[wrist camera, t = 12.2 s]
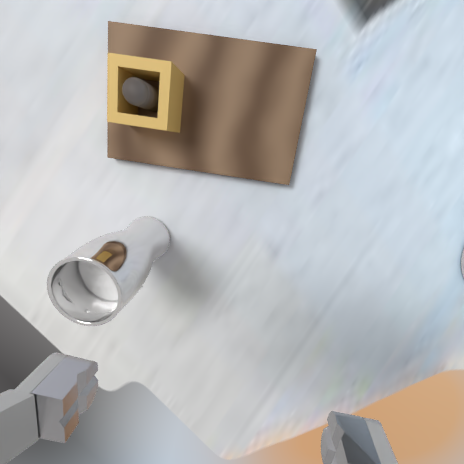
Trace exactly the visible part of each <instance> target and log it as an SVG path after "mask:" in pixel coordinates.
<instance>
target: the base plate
mask: <svg viewBox="0 0 464 464" xmlns="http://www.w3.org/2000/svg"><path fill="white" fill-rule="evenodd" d="M316 50H317V49H310V48H302V47H295V46H287V45H280V44H273V43H265V42H258V41H251V40H243V39H236V38H229V37H221V36H214V35H206V34H199V33H192V32H184V31H177V30H170V29H162V28H155V27H148V26H140V25H133V24H125V23H118V22H111V21H108V53H115V54H122V55H129V56H136V57H143V58H150V59H158V60H165V61H172V63H173V64H174V65H175V66H176V67H177V68H178V69H179V70H180V71H181V72H182V73H183V74H184V75H185V76H184V89H183V101H182V114H181V126H180V133H177V132H170V131H164V130H157V129H150V128H144V127H137V126H130V125H124V124H118V123H112V122H108V158H115V159H121V160H128V161H135V162H141V163H148V164H154V165H161V166H167V167H174V168H180V169H187V170H194V171H200V172H207V173H213V174H220V175H226V176H233V177H240V178H246V179H253V180H259V181H266V182H272V183H279V184H286V185H289V183H290V178H291V173H292V168H293V163H294V159H295V154H296V149H297V144H298V139H299V134H300V129H301V124H302V119H303V114H304V109H305V104H306V99H307V95H308V90H309V85H310V80H311V75H312V70H313V65H314V60H315V55H316ZM122 93H123V96H124V98H125V99H126V100H127V101H128V102H129V103H130V104H132V105H135V106H138V115H139V116H146V117H153V118H158V100H159V81H152V80H145V79H140V78H137V77H131V78H128V79H127V80H126V81H125V82H124V83H123V86H122Z"/></svg>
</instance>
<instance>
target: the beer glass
mask: <svg viewBox="0 0 464 464" xmlns="http://www.w3.org/2000/svg"><path fill="white" fill-rule="evenodd" d="M169 245H170V235H169V232H168V230H167V228H166V226H165V225H164V224H163V223H162V222H161V221H159V220H158V219H156V218H153V217H148V216H144V217H139V218H136V219H135V220H133V221H132V222H131V223H130V224H129V225H128V226H127V228H126V229H124V230H121V231H116V232H112V233H109V234H106V235H103V236H100V237H97V238H95V239H93V240H91V241H89V242H87V243H86V244H84V245H83V246H81V247H79V248H78V249H77V250H75V251H74V252H72V253H71V254H70V255H68V256H67V257H66V258H65V259H63V260H61V261H60V262H58V263H57V264H56V265H55V266H54V267H53V268H52V269H51V271H50V273H49V276H48V279H47V290H48V294H49V297H50V299H51V301H52V303H53V305H54V306H55V308H56V309H57V310H58V311H59V312H60V313H61V314H62V315H63V316H65V317H66V318H68V319H69V320H71V321H73V322H75V323H78V324H81V325H86V326H97V325H102V324H105V323H107V322H109V321H111V320H112V319H113V318H114V317H115V316H116V315H117V314H118V313H119V312H120V311H121V310H122V309H123V308H124V307H125V306H126V305H127V304H128V303H129V302H130V301H131V300H132V299H133V297H134V296H135V295H136V294H137V293H138V291H139V290H140V289H141V287H142V286H143V284H144V283H145V281H146V279H147V277H148V275H149V273H150V270H151V268H152V265H153V263H154V261H155V260H156V259H158V258H160V257H161V256H163V255H164V254H165V253H166V251H167V250H168V248H169Z"/></svg>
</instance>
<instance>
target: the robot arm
mask: <svg viewBox="0 0 464 464" xmlns="http://www.w3.org/2000/svg"><path fill="white" fill-rule="evenodd" d="M461 269H462V274H463V277H464V249H463V253H462V259H461ZM97 371H98V364H97V362H95V361H90V360H86V359H82V358H78V357H74V356H70V355H65V354H60V353H56V352H55V353H53V354H51V355H50V356H48V357H47V358H46V360H44V361H43V363H41V364H40V365H39V366H38V367H37V368H36V369H35V370H34V371H33V372H32V373H31V374H30V375H29V376H28V377H27V378H26V379H25V380H24V381H23V382H22V383H21V384H20V385H19V386H18V387H17V388H16V389H15V390H11V389H9V390H8V391H5V392H3V393H1V394H0V464H6V463H7V462H9V461H10V460H12V459H13V458H14V457H16V456H17V455H18V454H20V453H21V452H23V451H24V450H26V449H27V448H28V447H30V446H31V445H32V444H34V443H35V442H37V441H38V440H39V438H41V439H46V440H51V441H56V442H62V443H66V441H67V440H68V438H69V437H70V435H71V434H72V432H73V431H74V429H75V428H76V426H77V425H78V423H79V415H80V414H82V413H84V412H85V411H87V409H88V408H89V407H90V405H91V404H92V402H93V400H94V397H95V395H96V392H97V387H98V380H97V378H96V377H95V373H96V372H97ZM327 420H328V425H329V426H328V427H326V428H325V429H324V430H323V433H322V438H321V454H322V460H323V463H324V464H398V462H397V460H396V458H395V455H394V453H393V451H392V448H391V446H390V443H389V441H388V439H387V436H386V434H385V432H384V430H383V427H382V425H381V423H380V422H379V421H378V420H373V419H368V418H363V417H359V416H354V415H349V414H344V413H339V412H334V411H331V412H330V413H329V416H328V418H327Z"/></svg>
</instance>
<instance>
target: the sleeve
mask: <svg viewBox="0 0 464 464" xmlns="http://www.w3.org/2000/svg"><path fill="white" fill-rule="evenodd" d="M184 76H185V75H184V74H183V73H182V72H181V71H180V70H179V69H178V68H177V67H176V66H175V65H174V64H173V63H172V61H165V60H158V59H150V58H143V57H136V56H129V55H122V54H115V53H108V85H107V122H112V123H118V124H124V125H130V126H137V127H144V128H150V129H157V130H164V131H170V132H177V133H180V126H181V114H182V101H183V89H184ZM131 77H137V78H140V79H145V80H152V81H159V100H158V118H153V117H146V116H139V115H138V106H135V105H132V104H130V103H129V102H128V101H127V100H126V99H125V98H124V96H123V93H122V86H123V83H124V82H125V81H126V80H127V79H128V78H131Z"/></svg>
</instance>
